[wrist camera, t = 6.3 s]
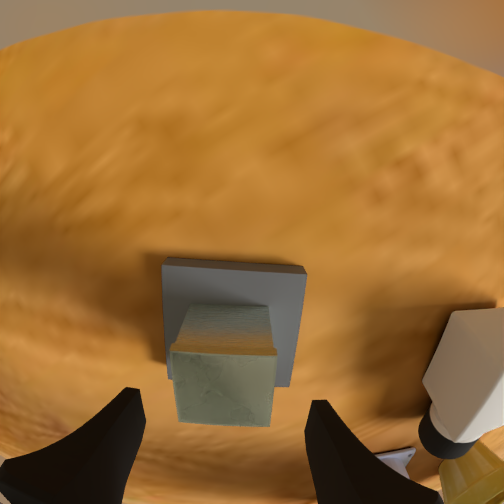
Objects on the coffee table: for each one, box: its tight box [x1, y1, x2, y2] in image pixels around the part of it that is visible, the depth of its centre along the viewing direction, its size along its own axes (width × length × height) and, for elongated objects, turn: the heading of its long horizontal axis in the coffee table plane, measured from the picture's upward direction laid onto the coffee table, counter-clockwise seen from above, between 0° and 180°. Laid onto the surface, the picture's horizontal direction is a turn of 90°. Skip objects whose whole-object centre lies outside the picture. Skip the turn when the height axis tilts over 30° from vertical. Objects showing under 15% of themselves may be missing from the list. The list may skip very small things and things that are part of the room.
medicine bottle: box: [418, 307, 504, 459], centre depth 18 cm, size 7×7×12 cm
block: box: [162, 257, 307, 387], centre depth 19 cm, size 8×8×2 cm
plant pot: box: [438, 440, 504, 504], centre depth 21 cm, size 10×10×10 cm
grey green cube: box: [169, 303, 278, 427], centre depth 16 cm, size 5×5×5 cm
